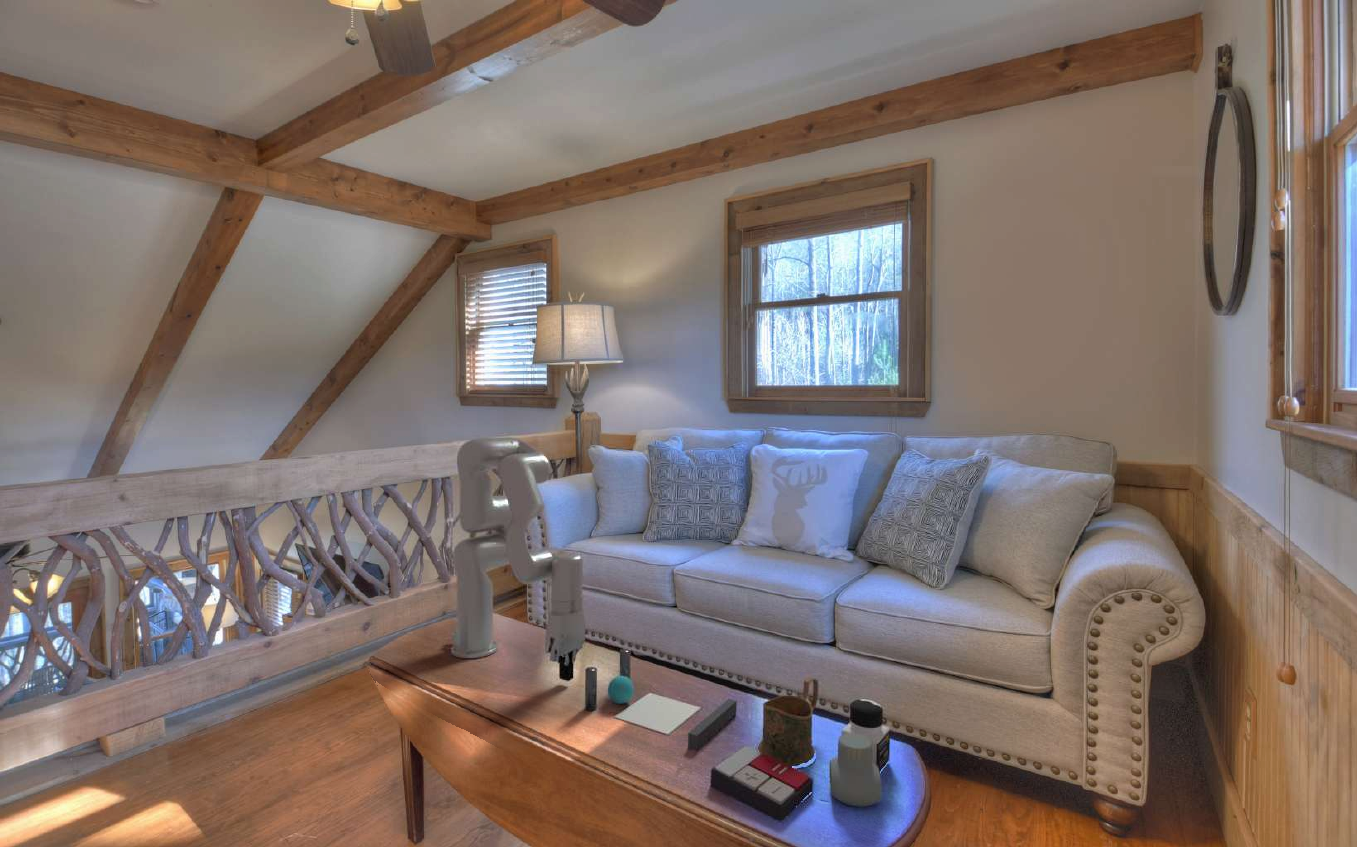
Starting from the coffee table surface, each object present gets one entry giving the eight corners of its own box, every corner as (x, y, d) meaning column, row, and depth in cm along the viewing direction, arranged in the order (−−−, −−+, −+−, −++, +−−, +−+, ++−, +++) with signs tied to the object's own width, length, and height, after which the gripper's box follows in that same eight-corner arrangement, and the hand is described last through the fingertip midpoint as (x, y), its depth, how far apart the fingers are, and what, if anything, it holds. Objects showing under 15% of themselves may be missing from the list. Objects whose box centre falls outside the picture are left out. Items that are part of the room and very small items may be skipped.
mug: (840, 739, 133) (841, 682, 132) (797, 776, 119) (798, 712, 119) (791, 721, 140) (792, 667, 140) (746, 754, 127) (747, 694, 126)
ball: (601, 702, 147) (603, 677, 147) (617, 692, 152) (619, 668, 152) (622, 711, 144) (624, 686, 144) (637, 701, 149) (639, 676, 149)
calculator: (782, 803, 106) (710, 764, 115) (780, 828, 106) (709, 787, 116) (814, 774, 114) (745, 741, 124) (813, 798, 114) (744, 762, 124)
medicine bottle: (876, 780, 118) (878, 716, 118) (840, 766, 123) (841, 704, 122) (889, 763, 124) (891, 702, 124) (854, 751, 128) (855, 691, 128)
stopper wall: (688, 747, 129) (688, 732, 129) (728, 711, 144) (728, 698, 144) (696, 750, 128) (696, 735, 128) (736, 714, 143) (736, 700, 143)
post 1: (582, 709, 144) (582, 669, 144) (589, 704, 147) (590, 666, 146) (591, 712, 143) (591, 672, 143) (598, 707, 145) (599, 668, 145)
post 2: (617, 687, 156) (617, 651, 155) (623, 684, 158) (624, 647, 158) (626, 690, 154) (626, 653, 154) (632, 686, 156) (632, 650, 156)
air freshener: (828, 776, 119) (829, 723, 119) (874, 781, 118) (875, 727, 118) (832, 812, 109) (833, 754, 108) (882, 818, 107) (883, 759, 107)
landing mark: (614, 717, 141) (614, 716, 141) (649, 693, 153) (649, 692, 153) (668, 735, 133) (668, 734, 133) (700, 708, 145) (700, 707, 145)
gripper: (575, 594, 165) (574, 665, 165) (533, 610, 152) (533, 686, 153) (598, 599, 161) (597, 671, 161) (557, 615, 148) (557, 693, 149)
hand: (566, 678), depth 157 cm, fingers closed
